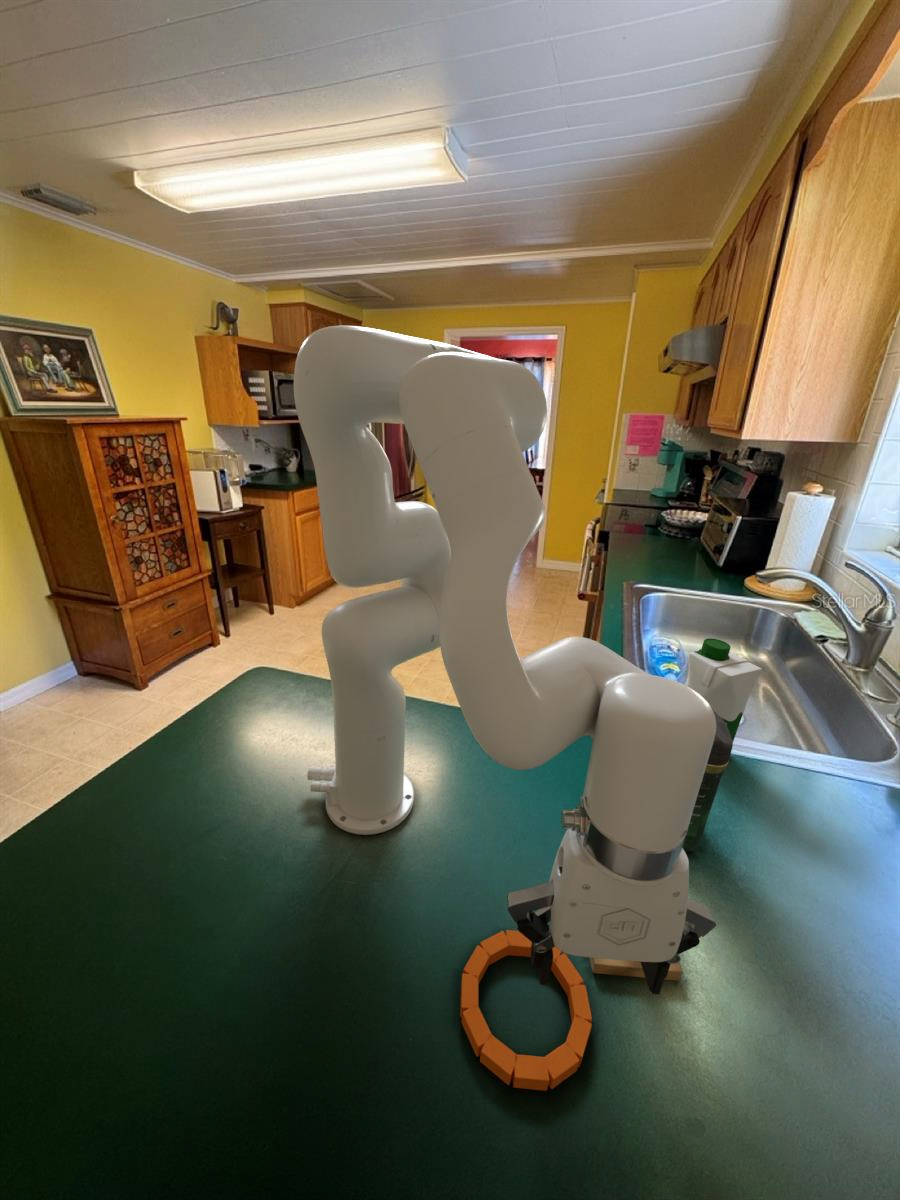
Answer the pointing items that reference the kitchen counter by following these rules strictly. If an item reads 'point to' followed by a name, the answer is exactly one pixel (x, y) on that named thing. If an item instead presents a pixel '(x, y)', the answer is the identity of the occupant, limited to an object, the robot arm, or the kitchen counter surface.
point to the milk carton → (722, 680)
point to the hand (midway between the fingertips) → (594, 971)
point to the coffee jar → (709, 784)
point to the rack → (629, 968)
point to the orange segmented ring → (493, 1052)
